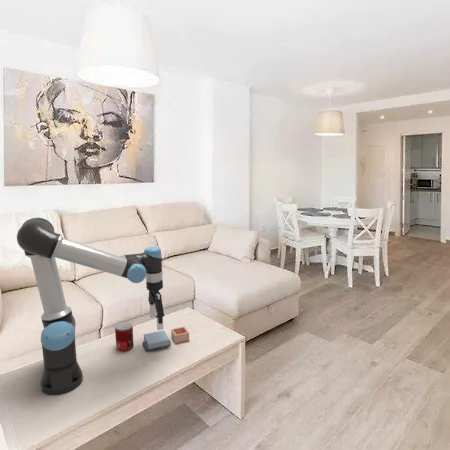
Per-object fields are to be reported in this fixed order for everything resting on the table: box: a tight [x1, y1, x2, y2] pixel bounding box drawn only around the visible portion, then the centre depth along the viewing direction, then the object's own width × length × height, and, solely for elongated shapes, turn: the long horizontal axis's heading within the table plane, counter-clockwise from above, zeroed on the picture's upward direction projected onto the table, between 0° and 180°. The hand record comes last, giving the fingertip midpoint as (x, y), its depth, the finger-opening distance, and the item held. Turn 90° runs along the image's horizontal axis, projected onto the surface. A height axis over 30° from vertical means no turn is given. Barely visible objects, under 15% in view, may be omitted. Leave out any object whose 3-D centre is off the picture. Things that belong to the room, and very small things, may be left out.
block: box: [142, 341, 172, 352], centre depth 166 cm, size 12×6×2 cm, turn 115°
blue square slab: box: [143, 329, 171, 349], centre depth 165 cm, size 10×10×2 cm
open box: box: [170, 326, 190, 345], centre depth 171 cm, size 7×7×4 cm
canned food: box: [114, 321, 134, 352], centre depth 164 cm, size 8×8×11 cm
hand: (156, 323), depth 164 cm, fingers open, 13 cm apart
